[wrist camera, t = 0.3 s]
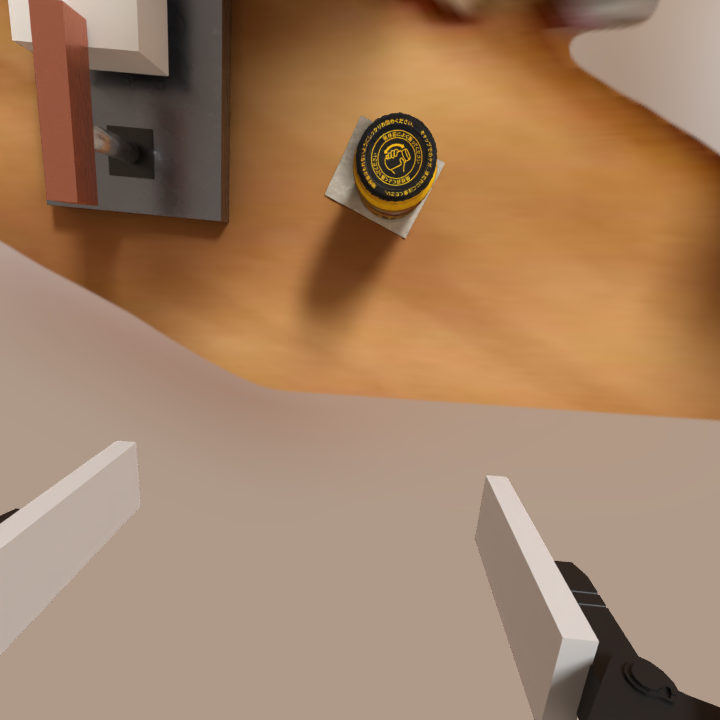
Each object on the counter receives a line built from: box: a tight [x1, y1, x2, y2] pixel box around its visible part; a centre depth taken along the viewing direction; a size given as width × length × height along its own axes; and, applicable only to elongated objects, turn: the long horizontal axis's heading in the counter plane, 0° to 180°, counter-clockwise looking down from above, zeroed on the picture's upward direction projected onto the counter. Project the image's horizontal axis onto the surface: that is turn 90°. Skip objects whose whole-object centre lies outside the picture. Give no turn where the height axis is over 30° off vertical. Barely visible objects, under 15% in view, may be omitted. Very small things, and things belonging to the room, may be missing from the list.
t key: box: [28, 0, 140, 206], centre depth 32 cm, size 12×2×8 cm, turn 175°
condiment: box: [325, 112, 445, 238], centre depth 32 cm, size 7×8×12 cm
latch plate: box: [33, 0, 231, 223], centre depth 33 cm, size 20×16×7 cm
